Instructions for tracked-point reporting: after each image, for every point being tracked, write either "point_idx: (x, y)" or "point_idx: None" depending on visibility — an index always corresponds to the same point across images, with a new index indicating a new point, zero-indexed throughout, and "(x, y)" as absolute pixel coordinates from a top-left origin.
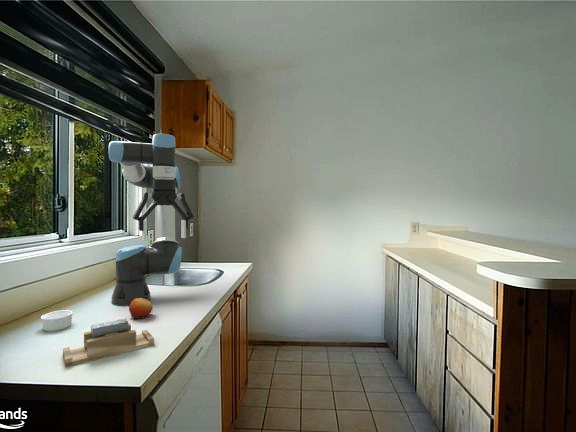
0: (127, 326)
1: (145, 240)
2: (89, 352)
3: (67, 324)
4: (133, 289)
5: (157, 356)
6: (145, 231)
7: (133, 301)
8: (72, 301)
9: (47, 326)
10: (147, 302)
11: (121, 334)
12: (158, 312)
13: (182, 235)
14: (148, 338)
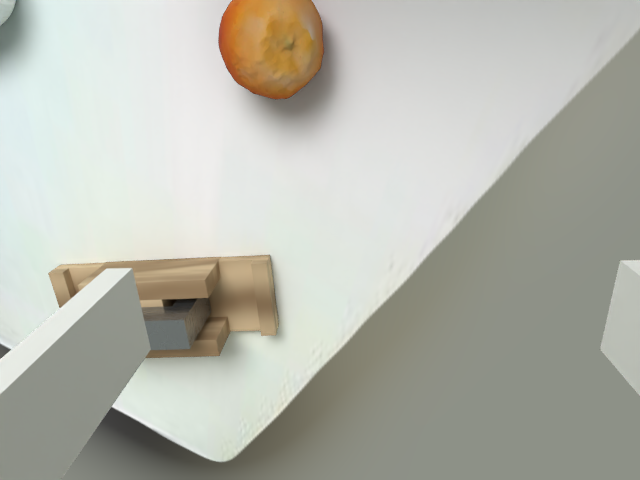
0: (193, 340)
1: (141, 349)
2: None
3: (4, 13)
4: None
5: (274, 386)
6: (85, 430)
7: (229, 45)
8: None
9: None
10: (295, 60)
11: (180, 354)
12: (357, 18)
13: (628, 324)
14: (261, 329)
